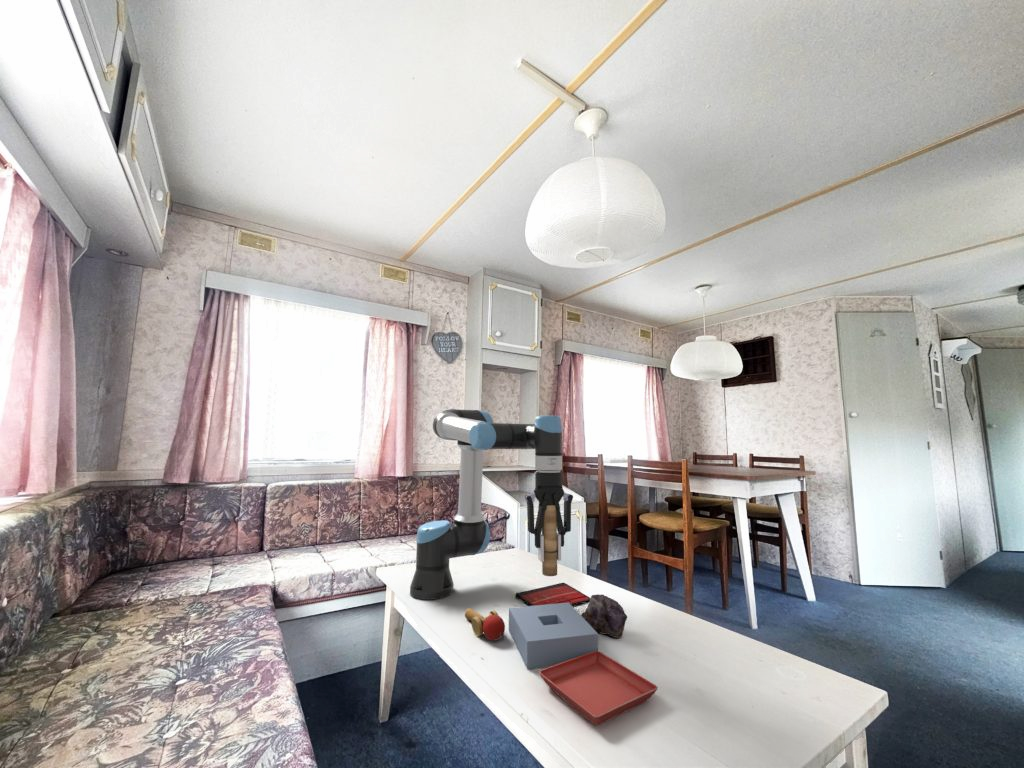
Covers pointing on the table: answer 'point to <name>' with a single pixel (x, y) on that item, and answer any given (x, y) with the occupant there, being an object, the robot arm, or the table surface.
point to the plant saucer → (598, 686)
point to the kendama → (486, 624)
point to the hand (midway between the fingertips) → (549, 559)
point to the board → (550, 634)
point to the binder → (553, 595)
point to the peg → (550, 541)
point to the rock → (605, 615)
